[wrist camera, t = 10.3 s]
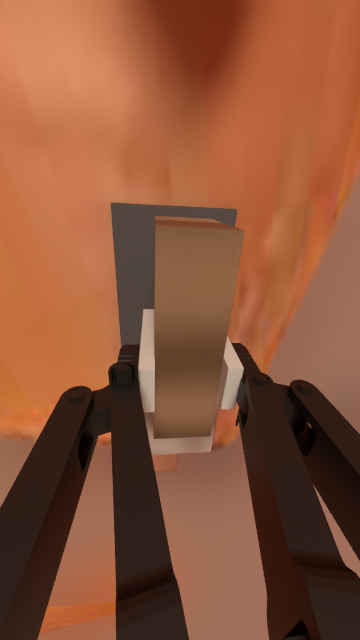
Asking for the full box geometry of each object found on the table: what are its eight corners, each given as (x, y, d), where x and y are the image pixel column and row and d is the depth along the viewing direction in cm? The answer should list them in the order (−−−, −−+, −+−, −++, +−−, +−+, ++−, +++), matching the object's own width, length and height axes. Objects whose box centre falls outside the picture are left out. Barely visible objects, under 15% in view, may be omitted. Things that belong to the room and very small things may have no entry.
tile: (123, 413, 30) (127, 461, 35) (121, 425, 29) (126, 474, 33) (178, 410, 31) (175, 458, 36) (179, 422, 30) (176, 470, 34)
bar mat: (125, 392, 28) (124, 396, 28) (111, 202, 19) (110, 203, 18) (209, 389, 29) (210, 393, 29) (234, 209, 20) (237, 209, 20)
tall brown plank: (116, 213, 14) (93, 223, 9) (247, 220, 15) (298, 233, 10) (130, 450, 24) (123, 523, 18) (209, 446, 25) (224, 514, 19)
